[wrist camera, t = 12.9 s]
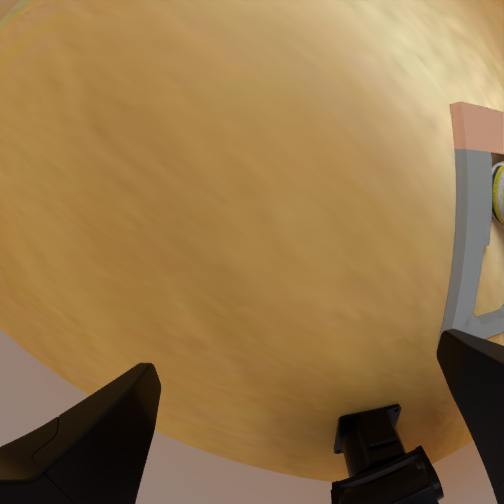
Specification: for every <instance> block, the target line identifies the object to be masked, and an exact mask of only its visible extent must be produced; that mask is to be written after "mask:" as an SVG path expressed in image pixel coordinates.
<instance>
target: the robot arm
mask: <svg viewBox="0 0 504 504" xmlns="http://www.w3.org/2000/svg"><path fill="white" fill-rule="evenodd" d="M437 359H438V362H439V364H440V366H441V369H442V371H443V374H444V376H445V379H446V381H447V384H448V386H449V389H450V391H451V394H452V396H453V398H454V400H455V402H456V404H457V406H458V408H459V410H460V412H461V414H462V416H463V418H464V420H465V422H466V425H467V427H468V429H469V431H470V433H471V436H472V438H473V440H474V442H475V445H476V446H477V449H478V452H479V454H480V456H481V459H482V461H483V463H484V466H485V469H486V471H487V474H488V477H489V479H490V482H491V485H492V488H493V489H494V490H493V491H494V494H495V497H496V500H497V503H498V504H504V346H502V345H500V344H497V343H494V342H491V341H488V340H485V339H483V338H480V337H477V336H474V335H471V334H468V333H466V332H463V331H460V330H457V329H454V328H452V329H448V330H444V331H443V332H442V333H441V336H440V341H439V345H438V349H437ZM160 394H161V383H160V380H159V378H158V375H157V372H156V369H155V367H154V365H153V364H152V363H139V364H137V365H136V366H134V367H133V368H131V369H130V370H128V371H127V372H125V373H124V374H122V375H121V376H119V377H118V378H116V379H115V380H113V381H112V382H110V383H109V384H107V385H106V386H104V387H103V388H101V389H100V390H98V391H97V392H95V393H93V394H92V395H90V396H89V397H87V398H86V399H84V400H83V401H81V402H80V403H78V404H76V405H75V406H73V407H72V408H70V409H69V410H67V411H65V412H64V413H62V414H61V415H59V417H56V418H54V419H53V420H51V421H50V422H48V423H46V424H45V425H43V426H41V427H40V428H38V429H36V430H34V431H32V432H30V433H28V434H26V435H24V436H22V437H20V438H18V439H16V440H14V441H12V442H10V443H8V444H5V445H3V446H1V447H0V504H135V502H136V498H137V494H138V490H139V486H140V482H141V478H142V475H143V471H144V467H145V463H146V459H147V456H148V452H149V449H150V445H151V441H152V438H153V434H154V430H155V425H156V418H157V412H158V406H159V400H160ZM400 410H401V407H400V405H399V404H396V405H392V406H388V407H384V408H379V409H375V410H371V411H366V412H361V413H356V414H351V415H345V416H342V417H340V418H339V420H338V426H337V433H336V439H335V445H334V453H335V454H340V453H344V457H345V461H346V465H347V469H348V473H349V477H350V478H347V479H344V480H341V481H336V482H332V490H331V500H332V504H439V503H438V500H440V499H442V498H443V497H444V495H443V490H442V487H441V483H440V481H439V478H438V476H437V474H436V472H435V470H434V468H433V466H432V464H431V462H430V460H429V459H428V457H427V455H426V453H425V451H424V450H423V448H422V446H421V445H420V446H418V447H416V449H414V450H412V451H410V452H408V453H406V451H405V449H404V447H403V444H402V442H401V440H400V437H399V435H398V433H397V430H396V428H395V425H396V422H397V420H398V417H399V414H400Z"/></svg>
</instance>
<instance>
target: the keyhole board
mask: <svg viewBox="0 0 504 504" xmlns="http://www.w3.org/2000/svg"><path fill="white" fill-rule="evenodd" d="M450 110H451V117H452V125H453V135H454V146H455V162H456V225H455V241H454V252H453V262H452V271H451V278H450V285H449V292H448V298H447V304H446V309H445V314H444V319H443V324H442V329H441V333H442V332H443V331H444V330H448V329H452V328H454V329H457V330H460V331H463V332H466V333H468V334H471V335H474V336H477V337H480V338H483V339H486V338H489V337H491V336H494V335H497V334H499V333H502V332H504V305H503V306H502V307H501V309H500V310H498V311H494V312H491V313H488V314H485V315H481V316H478V317H476V316H475V314H474V313H473V311H474V306H475V301H476V296H477V291H478V286H479V280H480V274H481V267H482V260H483V251H484V246H486V245H489V242H490V231H491V217H492V157H491V153H493V154H500V155H504V112H501V111H498V110H494V109H490V108H486V107H482V106H478V105H474V104H469V103H465V102H457V103H453V104H450ZM441 333H440V336H441ZM439 341H440V338H439ZM438 343H439V342H438Z"/></svg>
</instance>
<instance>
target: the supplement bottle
mask: <svg viewBox="0 0 504 504" xmlns="http://www.w3.org/2000/svg"><path fill="white" fill-rule="evenodd" d="M492 217H493V218H494V219H495V220H496V221H497V222H499V223H501V224H504V161H501V162H498V163H497V164H495V165H494V166H493V168H492Z"/></svg>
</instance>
